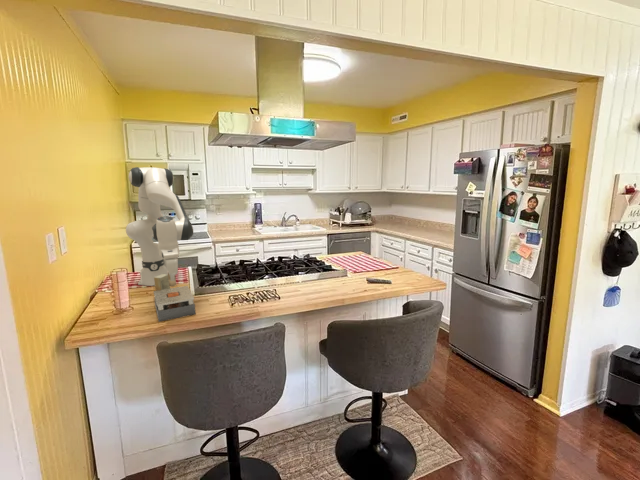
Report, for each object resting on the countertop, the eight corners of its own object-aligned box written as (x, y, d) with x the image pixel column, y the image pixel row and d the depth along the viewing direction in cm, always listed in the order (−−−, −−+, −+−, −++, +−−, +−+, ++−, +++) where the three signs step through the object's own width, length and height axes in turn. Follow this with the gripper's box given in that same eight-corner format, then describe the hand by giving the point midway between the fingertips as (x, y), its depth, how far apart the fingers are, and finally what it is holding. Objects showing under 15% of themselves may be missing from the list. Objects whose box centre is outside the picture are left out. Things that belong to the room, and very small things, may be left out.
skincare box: (165, 294, 188) (163, 273, 185) (171, 295, 186) (169, 274, 184) (155, 298, 182) (153, 276, 179) (162, 299, 180) (159, 277, 178)
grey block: (168, 285, 165) (167, 272, 163) (175, 283, 166) (174, 271, 165) (169, 286, 162) (168, 273, 161) (176, 285, 163) (175, 272, 162)
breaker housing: (155, 306, 171) (153, 291, 170) (188, 300, 179) (187, 285, 177) (158, 321, 154) (156, 304, 153) (195, 314, 162) (194, 297, 160)
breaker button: (168, 300, 167) (167, 293, 166) (178, 298, 169) (177, 291, 168) (169, 304, 163) (168, 296, 162) (179, 302, 165) (179, 294, 164)
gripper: (159, 248, 168) (162, 274, 171) (163, 256, 151) (167, 286, 153) (173, 246, 171) (176, 272, 174) (179, 254, 154) (182, 283, 156)
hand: (172, 279), depth 163 cm, fingers closed on grey block, 3 cm apart
